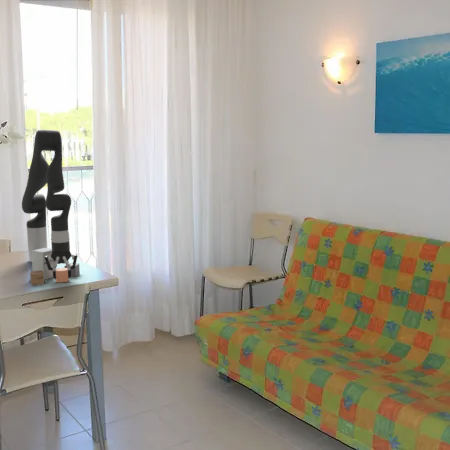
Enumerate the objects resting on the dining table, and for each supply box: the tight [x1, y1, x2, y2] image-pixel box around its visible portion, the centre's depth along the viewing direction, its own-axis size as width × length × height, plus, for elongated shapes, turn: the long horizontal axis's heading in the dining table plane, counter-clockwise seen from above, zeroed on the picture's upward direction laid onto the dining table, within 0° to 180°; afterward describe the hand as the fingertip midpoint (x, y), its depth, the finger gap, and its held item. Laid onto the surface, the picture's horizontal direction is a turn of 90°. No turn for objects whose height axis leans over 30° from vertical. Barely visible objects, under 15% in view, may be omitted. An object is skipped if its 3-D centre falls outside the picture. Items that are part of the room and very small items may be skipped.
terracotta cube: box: [55, 267, 70, 283], centre depth 263 cm, size 5×5×5 cm
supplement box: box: [31, 247, 55, 281], centre depth 270 cm, size 7×7×13 cm
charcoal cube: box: [63, 262, 80, 278], centre depth 274 cm, size 5×5×5 cm
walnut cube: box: [29, 270, 45, 286], centre depth 261 cm, size 5×5×5 cm
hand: (62, 278), depth 264 cm, fingers closed on terracotta cube, 5 cm apart
